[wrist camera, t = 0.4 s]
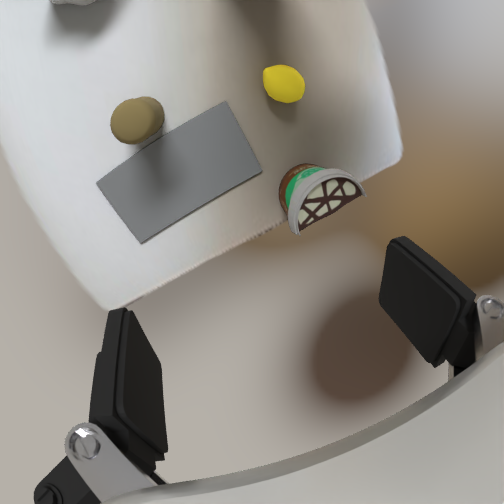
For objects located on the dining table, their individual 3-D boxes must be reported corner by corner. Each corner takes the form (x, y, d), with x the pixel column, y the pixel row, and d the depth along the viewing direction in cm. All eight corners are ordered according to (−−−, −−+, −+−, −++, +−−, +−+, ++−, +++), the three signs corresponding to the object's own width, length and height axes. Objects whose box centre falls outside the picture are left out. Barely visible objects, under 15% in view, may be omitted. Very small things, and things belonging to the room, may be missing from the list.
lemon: (301, 83, 38) (321, 86, 34) (281, 109, 39) (299, 114, 35) (268, 55, 34) (285, 53, 30) (246, 82, 35) (260, 83, 31)
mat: (96, 182, 37) (95, 183, 37) (225, 101, 36) (226, 101, 36) (140, 241, 44) (140, 243, 43) (261, 170, 43) (262, 170, 42)
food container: (324, 143, 43) (358, 157, 35) (336, 175, 46) (369, 195, 38) (257, 179, 44) (278, 200, 35) (273, 210, 47) (296, 238, 38)
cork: (124, 140, 36) (106, 154, 26) (121, 100, 32) (101, 99, 23) (165, 135, 37) (161, 146, 28) (163, 93, 34) (158, 90, 25)
